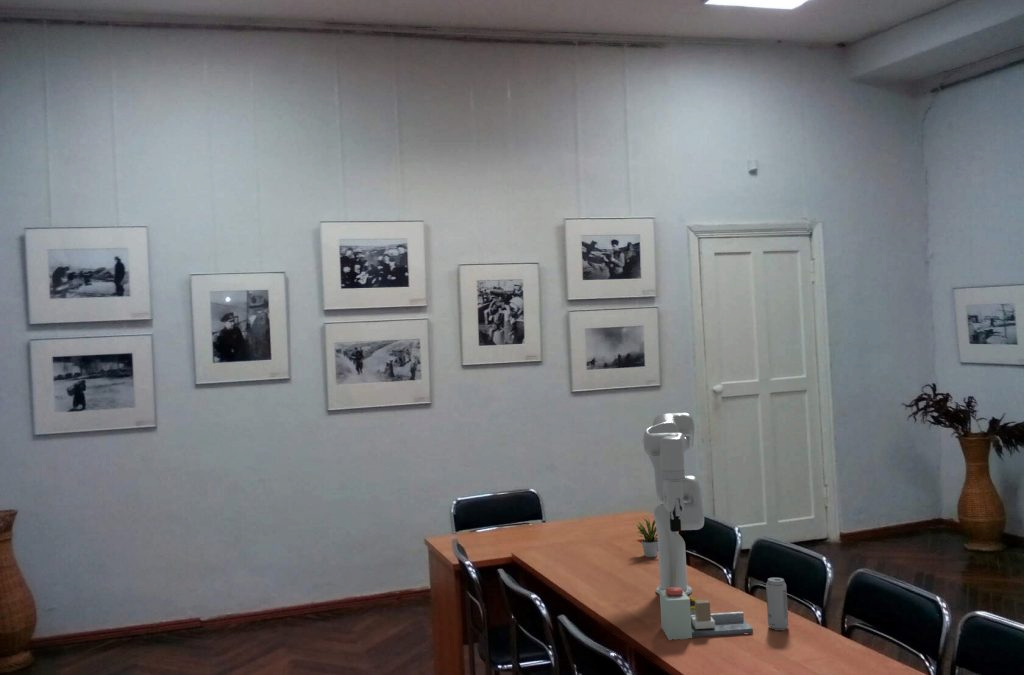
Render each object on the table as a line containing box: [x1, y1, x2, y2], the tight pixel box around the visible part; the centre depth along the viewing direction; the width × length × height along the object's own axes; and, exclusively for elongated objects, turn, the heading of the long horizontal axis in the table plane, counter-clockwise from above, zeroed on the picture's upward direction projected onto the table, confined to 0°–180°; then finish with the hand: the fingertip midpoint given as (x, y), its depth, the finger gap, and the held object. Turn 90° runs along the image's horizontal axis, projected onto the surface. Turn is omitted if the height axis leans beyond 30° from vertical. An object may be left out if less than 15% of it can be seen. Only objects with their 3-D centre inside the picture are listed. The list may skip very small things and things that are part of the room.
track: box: [691, 611, 754, 638], centre depth 269 cm, size 9×19×4 cm, turn 92°
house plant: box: [636, 517, 659, 558], centre depth 363 cm, size 14×14×16 cm
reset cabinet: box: [659, 590, 692, 641], centre depth 268 cm, size 11×7×12 cm, turn 2°
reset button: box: [666, 587, 683, 597], centre depth 268 cm, size 5×5×6 cm
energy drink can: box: [765, 576, 789, 631], centre depth 268 cm, size 6×6×15 cm
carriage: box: [692, 599, 715, 629], centre depth 269 cm, size 5×6×8 cm
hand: (675, 530), depth 282 cm, fingers closed
